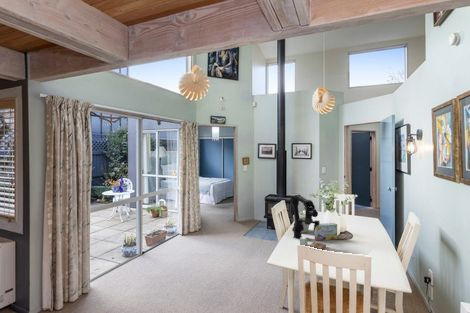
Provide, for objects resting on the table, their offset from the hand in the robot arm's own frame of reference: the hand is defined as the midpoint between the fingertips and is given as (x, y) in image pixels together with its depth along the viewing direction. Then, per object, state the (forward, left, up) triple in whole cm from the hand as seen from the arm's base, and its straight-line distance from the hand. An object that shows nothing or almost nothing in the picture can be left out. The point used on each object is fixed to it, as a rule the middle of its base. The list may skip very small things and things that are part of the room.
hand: (308, 231), depth 232 cm
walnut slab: (+9, -2, -13) cm, 16 cm away
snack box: (+7, +23, -13) cm, 27 cm away
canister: (-22, +31, -13) cm, 39 cm away
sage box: (-4, -3, -12) cm, 13 cm away
